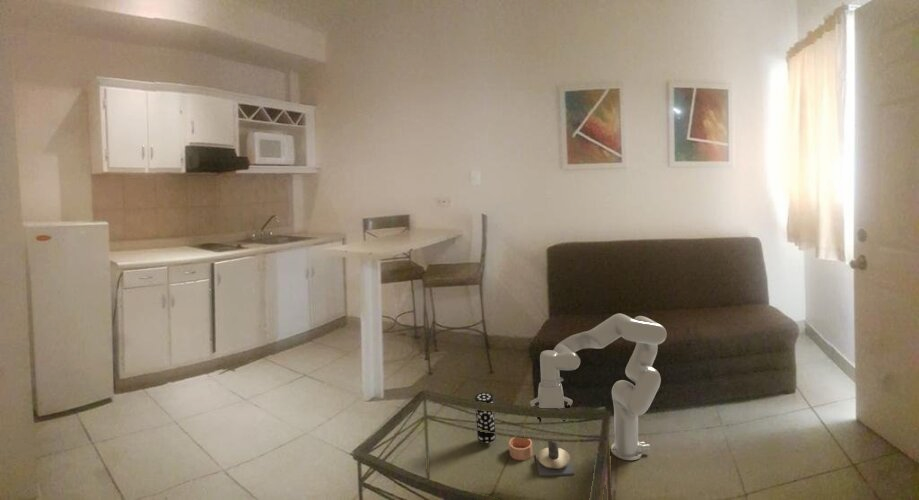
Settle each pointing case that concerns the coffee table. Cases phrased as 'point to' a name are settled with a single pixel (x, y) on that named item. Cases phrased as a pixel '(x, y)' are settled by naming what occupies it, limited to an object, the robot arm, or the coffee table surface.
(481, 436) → the white-spotted black cylinder
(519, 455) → the bowl
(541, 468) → the mat
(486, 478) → the coffee table surface
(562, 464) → the lid
